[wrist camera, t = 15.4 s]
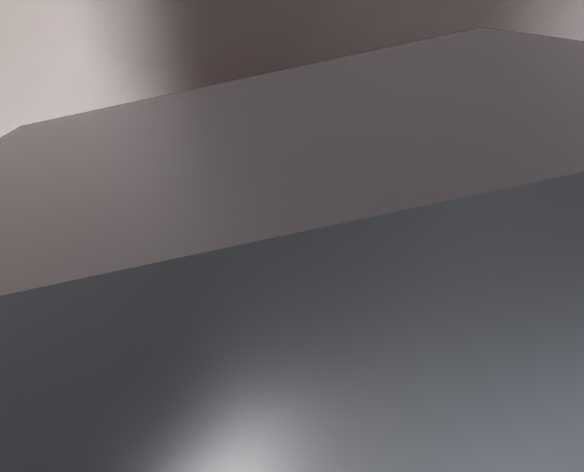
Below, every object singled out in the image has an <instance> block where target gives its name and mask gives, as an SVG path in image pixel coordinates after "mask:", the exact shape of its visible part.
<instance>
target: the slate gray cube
mask: <svg viewBox="0 0 584 472" xmlns="http://www.w3.org/2000/svg"><path fill="white" fill-rule="evenodd" d="M0 472H584V41H577V40H570V39H563V38H555V37H548V36H541V35H534V34H526V33H519V32H512V31H505V30H497V29H490V28H483V27H480V28H475V29H471V30H466V31H461V32H457V33H452V34H447V35H443V36H438V37H433V38H429V39H424V40H419V41H415V42H410V43H405V44H401V45H396V46H391V47H387V48H382V49H377V50H373V51H368V52H363V53H359V54H354V55H349V56H345V57H340V58H335V59H331V60H326V61H322V62H317V63H312V64H308V65H303V66H298V67H294V68H289V69H284V70H280V71H275V72H270V73H266V74H261V75H256V76H252V77H247V78H242V79H238V80H233V81H228V82H224V83H219V84H214V85H210V86H205V87H200V88H196V89H191V90H186V91H182V92H177V93H172V94H168V95H163V96H159V97H154V98H149V99H145V100H140V101H135V102H131V103H126V104H121V105H117V106H112V107H107V108H103V109H98V110H93V111H89V112H84V113H79V114H75V115H70V116H65V117H61V118H56V119H51V120H47V121H42V122H37V123H33V124H28V125H23V126H20V127H18V128H16V129H15V130H13V131H11V132H10V133H8V134H6V135H5V136H3V137H1V138H0Z"/></svg>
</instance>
